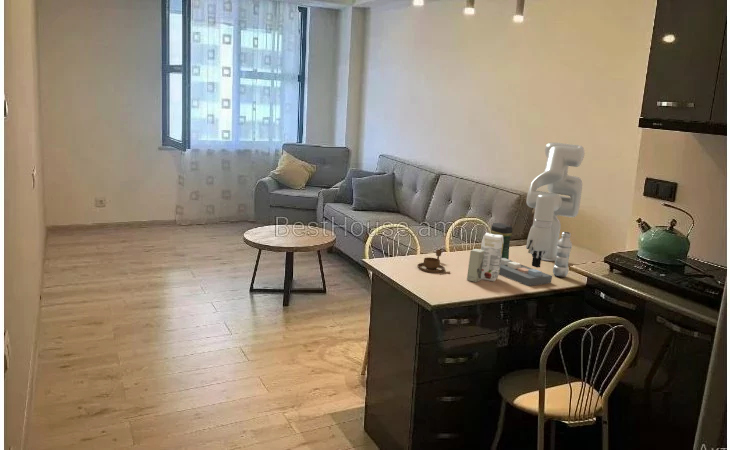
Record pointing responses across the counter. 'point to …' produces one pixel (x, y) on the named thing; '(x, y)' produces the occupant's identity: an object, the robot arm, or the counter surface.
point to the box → (475, 265)
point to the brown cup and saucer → (432, 264)
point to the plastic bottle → (562, 255)
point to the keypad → (524, 276)
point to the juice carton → (491, 256)
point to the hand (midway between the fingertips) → (535, 266)
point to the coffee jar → (506, 232)
